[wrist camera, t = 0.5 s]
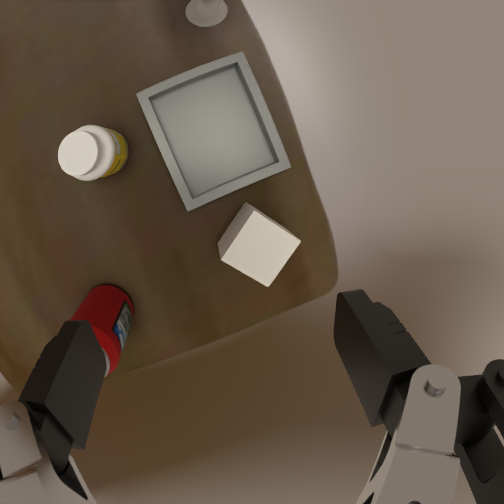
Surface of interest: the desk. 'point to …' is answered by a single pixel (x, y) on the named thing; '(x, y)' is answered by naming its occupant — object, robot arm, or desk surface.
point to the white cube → (256, 245)
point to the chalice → (206, 12)
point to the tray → (213, 130)
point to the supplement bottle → (92, 152)
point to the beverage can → (108, 320)
